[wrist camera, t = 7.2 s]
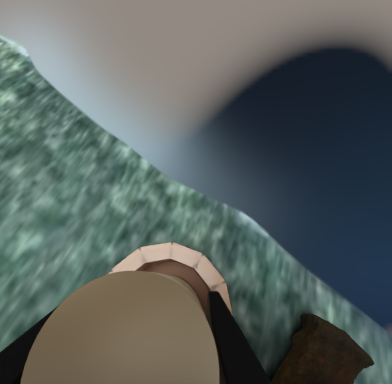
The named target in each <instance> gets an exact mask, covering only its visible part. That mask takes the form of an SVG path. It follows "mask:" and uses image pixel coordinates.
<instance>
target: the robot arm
mask: <svg viewBox="0 0 392 384" xmlns="http://www.w3.org/2000/svg"><path fill="white" fill-rule="evenodd" d="M56 308H57V307H56ZM56 308H55V309H54V310H53V311H51V312H50V313H49V314H48V315H46V316H45V317H44V318H43V319H41V320H40V321H39V322H38V323H36V324H35V325H34V326H33V327H31V328H30V329H29V330H28V331H26V332H25V333H24V334H23V335H21V336H20V337H19V338H18V339H16V340H15V341H14V342H13V343H11V344H10V345H9V346H8V347H6V348H5V349H4V350H3V351H1V352H0V384H21V378H22V375H23V371H24V367H25V363H26V361H27V358H28V355H29V352H30V350H31V348H32V346H33V343H34V341H35V339H36V337H37V335H38V334H39V332H40V330H41V329H42V327H43V326H44V324H45V322H46V321H47V320H48V318H49V317H50V316H51V314H52V313H53V312H54V311H55V310H56ZM206 319H207V321H208V324H209V326H210V329H211V332H212V334H213V337H214V340H215V345H216V349H217V354H218V362H219V384H271V382H270V380H269V378H268V376H267V374H266V373H265V371H264V369H263V368H262V366H261V364H260V362H259V361H258V359H257V357H256V355H255V354H254V352H253V350H252V348H251V347H250V345H249V343H248V342H247V340H246V338H245V336H244V335H243V333H242V331H241V329H240V328H239V326H238V324H237V322H236V321H235V319H234V317H233V315H232V314H231V312H230V310H229V309H228V307H227V305H226V303H225V302H224V300H223V298H222V296H221V295H220V293H219V292H218V291H208V295H207V305H206Z"/></svg>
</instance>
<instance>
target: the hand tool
mask: <svg viewBox="0 0 392 384" xmlns="http://www.w3.org/2000/svg"><path fill="white" fill-rule="evenodd" d="M301 320H302V329H301V330H299V331H298V332H296V333H295V334H294V335H293V336H292V340H293V344H292V346H291V349H290V350H289V352H288V354H287V356H286V358H285V360H284V362H283V363H282V364H281V365H280V366H279V368H278V369H277V371H276V373H275V375H274V377H273V378H272V381H271V384H353V383H354V379H355V378H356V377H357V375H358V374H359V372H361V371H362V370H363V369H364V368H367V367H369V366H372V365H373V364H374V362H373V360H372V358H371V357H370V356H369V355H368V354H367V353H366V352H365V351H364V350H363V349H362V348H361V347H360V346H359V345H358V344H357V343H356V342H355V341H354V340H353V339H352V338H351V337H350V336H349V335H348V334H347V333H346V332H345V331H343V330H341V329H339V328H337V327H336V326H334V325H333V324H331V323H329V322H328V321H326V320H323V319H322V318H320V317H318V316H316V315H313V314H303V315H302V316H301Z"/></svg>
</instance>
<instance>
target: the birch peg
mask: <svg viewBox="0 0 392 384" xmlns="http://www.w3.org/2000/svg"><path fill="white" fill-rule="evenodd" d="M21 384H219V362H218V354H217V349H216V345H215V340H214V337H213V334H212V332H211V329H210V326H209V324H208V321H207V319H206V316H205V314H204V312H203V309H202V307H201V304H200V302H199V300H198V297H197V295H196V293H195V291H194V289H193V288H192V286H191V285H190V284H189V283H188V282H187V281H186V280H184V279H183V278H181V277H179V276H176V275H171V274H162V273H154V272H145V271H121V272H115V273H111V274H107V275H104V276H102V277H99V278H96V279H94V280H92V281H91V282H89V283H87V284H85V285H83V286H82V287H80V288H79V289H77V290H76V291H75V292H73V293H72V294H71V295H70V296H69V297H67V298H66V299H65V300H64V301H63V302H62V303H61V304H60V305H59V306H58V307H57V308H56V310H55V311H54V312H53V313H52V314H51V316H50V317H49V318H48V320H47V321H46V322H45V324H44V326H43V327H42V329H41V330H40V332H39V334H38V335H37V337H36V339H35V341H34V343H33V346H32V348H31V350H30V352H29V355H28V358H27V361H26V363H25V367H24V371H23V375H22V378H21Z"/></svg>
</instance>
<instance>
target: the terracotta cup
mask: <svg viewBox="0 0 392 384" xmlns="http://www.w3.org/2000/svg"><path fill="white" fill-rule="evenodd" d="M140 248H141V249H139V248H138V249H137V250H136V251H134V252H133V253H132V254H130V255H129V256H128V257H127V258H125V259H124V260H123V261H121V262H120V263H119V264H118V265H116V266H115V267H114V268H112V271H110V272H109V274H111V273H115V272H121V271H145V272H154V273H162V274H171V275H176V276H179V277H181V278H183V279H184V280H186V281H187V282H188V283H189V284H190V285H191V286H192V288H193V289H194V291H195V293H196V295H197V297H198V300H199V302H200V304H201V307H202V309H203V312H204V314H205V316H206V305H207V295H208V291H218V292H219V293H220V295H221V296H222V298H223V300H224V302H225V303H226V305H227V307H228V309H229V310H230V312H231V314H232V310H231V305H230V300H229V295H228V290H227V285H226V283H225V282H224V281H225V280H224V279H223V277H222V276H221V275H220V274H219V273H218V271H217V270H216V269H215V268H214V266H213V265H212V264H211V263H210V261H209V260H208V259H207V258H206V257H205V255H203V256H202V257H201V255H202V253H200V252H197V251H195V250H192V249H189V248H187V247H184V246H182V245H179V244H176V243H174V242H173V244H172V242H169V243H163V244H157V245H151V246H145V247H140Z"/></svg>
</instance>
